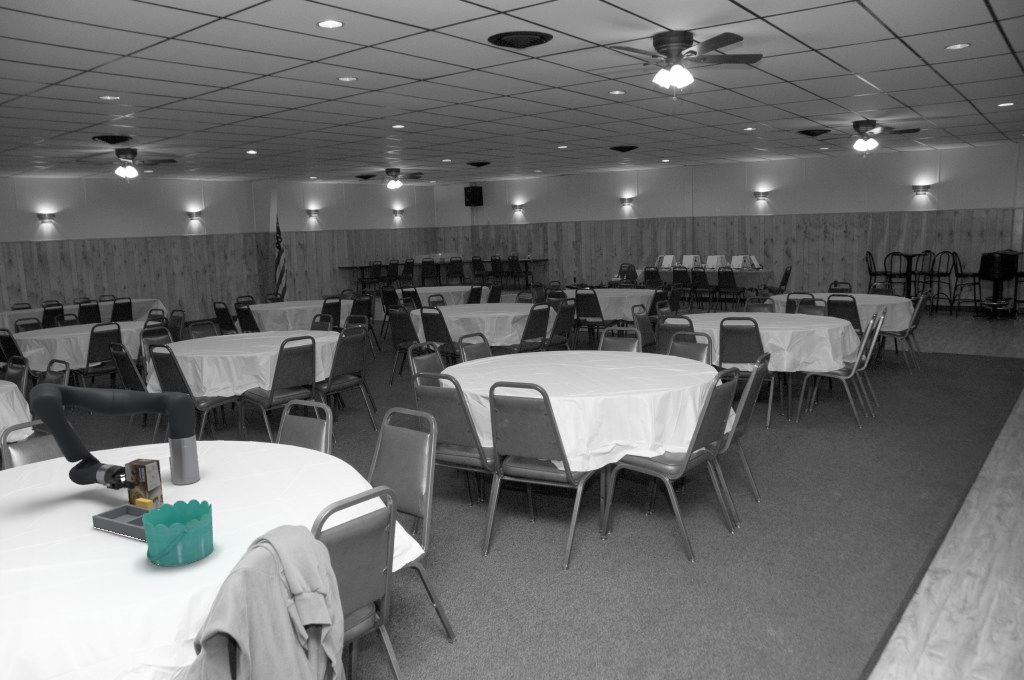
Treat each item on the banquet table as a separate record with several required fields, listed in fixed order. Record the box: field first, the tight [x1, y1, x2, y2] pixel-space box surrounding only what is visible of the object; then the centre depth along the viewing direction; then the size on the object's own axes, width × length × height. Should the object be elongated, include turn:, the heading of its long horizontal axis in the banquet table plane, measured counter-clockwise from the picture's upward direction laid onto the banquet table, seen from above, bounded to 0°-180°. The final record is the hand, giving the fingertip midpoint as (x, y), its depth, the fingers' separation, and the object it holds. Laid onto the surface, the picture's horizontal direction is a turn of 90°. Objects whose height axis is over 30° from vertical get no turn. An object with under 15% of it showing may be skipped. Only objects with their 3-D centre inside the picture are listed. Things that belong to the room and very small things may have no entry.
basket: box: [142, 499, 214, 567], centre depth 223 cm, size 19×18×13 cm
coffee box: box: [124, 458, 164, 510], centre depth 262 cm, size 9×6×16 cm
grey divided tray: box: [91, 498, 174, 541], centre depth 244 cm, size 30×14×6 cm, turn 60°
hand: (143, 482), depth 261 cm, fingers closed on coffee box, 7 cm apart
